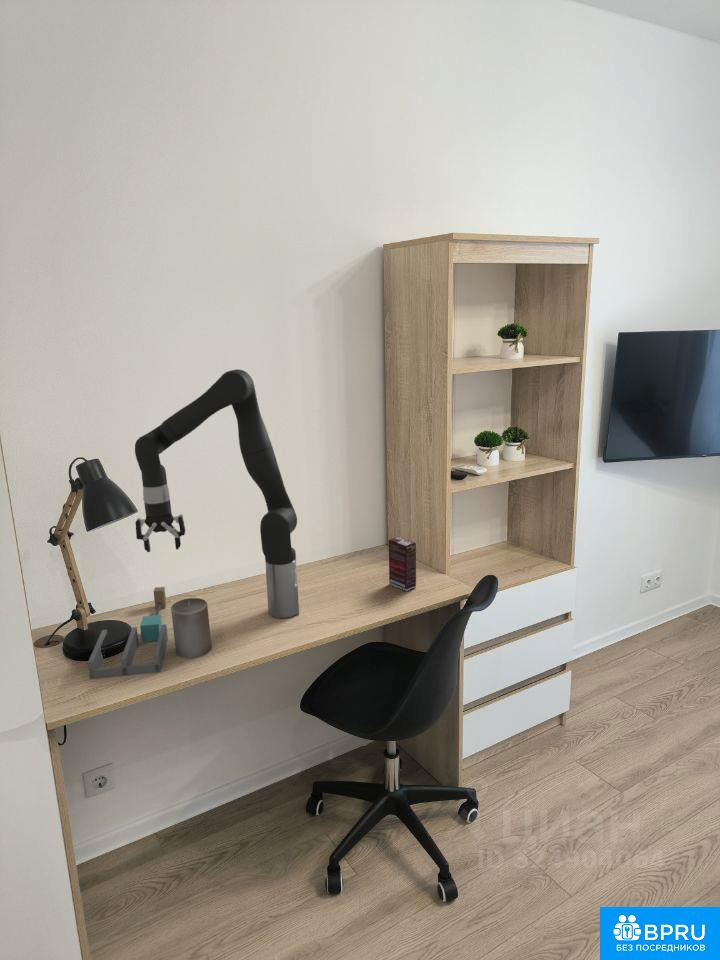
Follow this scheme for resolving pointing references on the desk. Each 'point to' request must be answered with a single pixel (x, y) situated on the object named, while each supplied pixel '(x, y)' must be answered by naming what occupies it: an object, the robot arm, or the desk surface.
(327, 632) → the desk surface
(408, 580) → the supplement box
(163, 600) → the block ended dumbbell
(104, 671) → the lane rack
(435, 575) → the desk surface
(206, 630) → the pillar candle
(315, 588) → the desk surface
